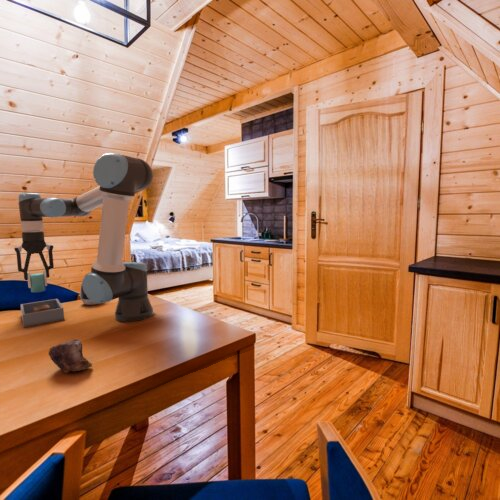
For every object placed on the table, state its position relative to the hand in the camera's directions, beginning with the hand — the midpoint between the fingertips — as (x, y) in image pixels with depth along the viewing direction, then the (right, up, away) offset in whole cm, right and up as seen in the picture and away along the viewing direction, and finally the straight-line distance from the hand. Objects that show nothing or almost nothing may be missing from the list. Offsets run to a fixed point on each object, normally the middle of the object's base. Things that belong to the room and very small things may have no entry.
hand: (37, 286), depth 132 cm
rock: (+39, -19, -43) cm, 61 cm away
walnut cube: (+5, -13, -4) cm, 14 cm away
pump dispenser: (+14, -11, +19) cm, 26 cm away
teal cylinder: (0, -2, 0) cm, 2 cm away
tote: (+2, -13, -1) cm, 13 cm away
